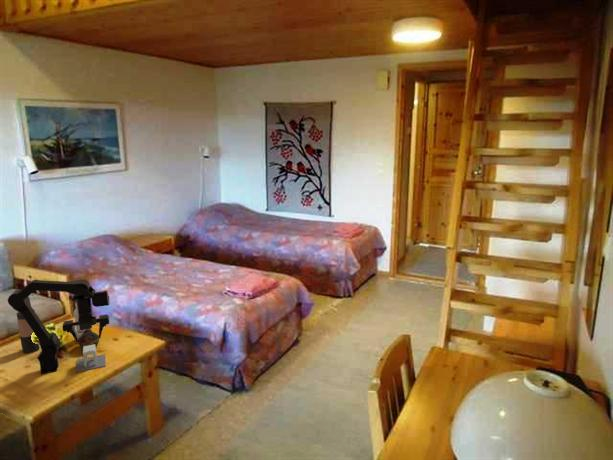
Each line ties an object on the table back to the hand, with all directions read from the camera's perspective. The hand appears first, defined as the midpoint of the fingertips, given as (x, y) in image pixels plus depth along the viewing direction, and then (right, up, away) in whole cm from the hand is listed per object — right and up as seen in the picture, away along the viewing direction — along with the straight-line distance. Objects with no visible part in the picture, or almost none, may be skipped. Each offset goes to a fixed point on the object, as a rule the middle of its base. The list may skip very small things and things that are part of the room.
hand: (88, 340), depth 203 cm
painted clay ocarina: (-8, -8, +18) cm, 21 cm away
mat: (0, -11, +2) cm, 12 cm away
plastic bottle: (-16, -6, +27) cm, 32 cm away
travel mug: (-36, -9, +16) cm, 40 cm away
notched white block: (0, -11, +2) cm, 11 cm away
